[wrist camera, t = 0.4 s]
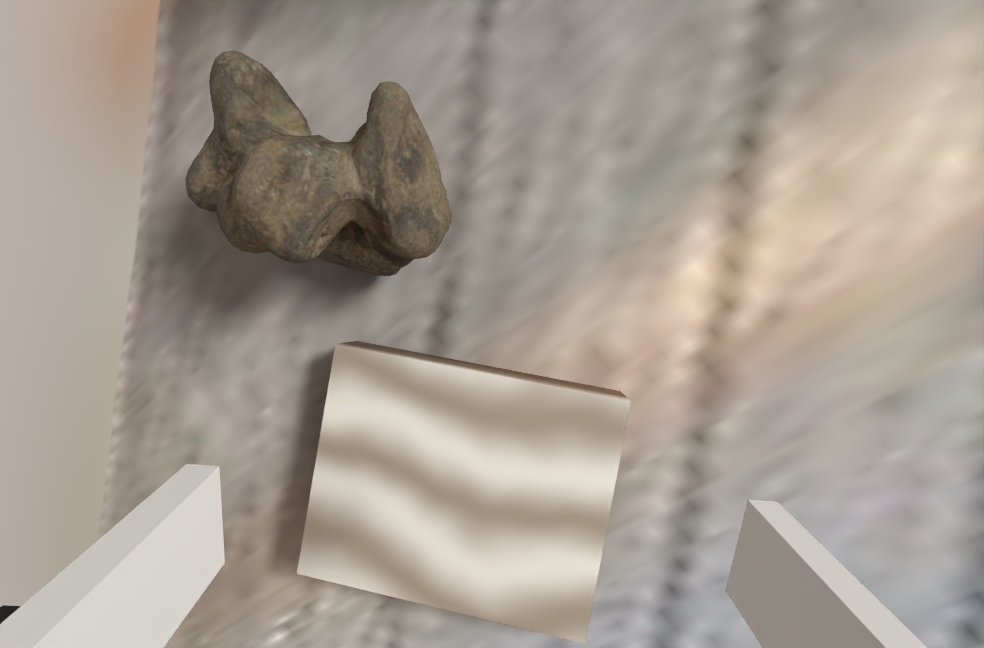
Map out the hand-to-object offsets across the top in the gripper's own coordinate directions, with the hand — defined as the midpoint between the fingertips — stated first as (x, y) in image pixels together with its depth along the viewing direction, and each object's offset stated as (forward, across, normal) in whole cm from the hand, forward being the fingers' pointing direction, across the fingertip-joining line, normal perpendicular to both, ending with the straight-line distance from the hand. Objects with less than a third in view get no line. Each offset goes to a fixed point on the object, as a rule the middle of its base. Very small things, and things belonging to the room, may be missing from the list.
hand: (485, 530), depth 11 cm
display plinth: (+22, 0, -12) cm, 26 cm away
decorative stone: (+28, -9, +7) cm, 30 cm away
